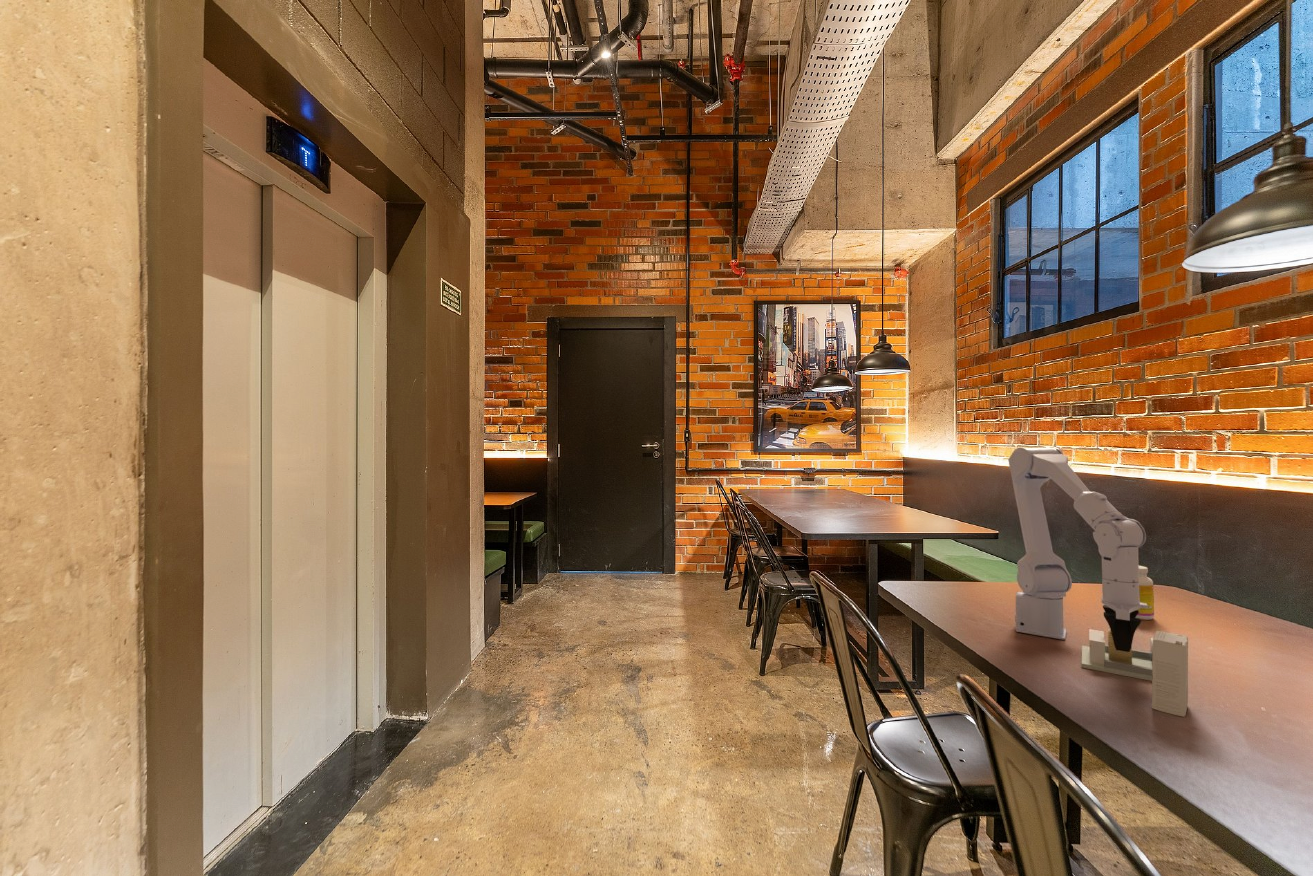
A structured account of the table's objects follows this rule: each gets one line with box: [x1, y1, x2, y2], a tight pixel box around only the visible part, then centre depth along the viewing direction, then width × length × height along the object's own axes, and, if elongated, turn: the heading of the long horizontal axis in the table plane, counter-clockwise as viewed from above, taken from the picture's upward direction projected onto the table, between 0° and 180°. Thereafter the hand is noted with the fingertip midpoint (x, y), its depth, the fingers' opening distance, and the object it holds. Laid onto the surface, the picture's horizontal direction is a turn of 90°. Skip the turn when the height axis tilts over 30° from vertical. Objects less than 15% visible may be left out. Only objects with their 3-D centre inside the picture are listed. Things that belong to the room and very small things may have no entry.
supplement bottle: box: [1135, 565, 1155, 621], centre depth 140 cm, size 7×7×13 cm
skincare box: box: [1151, 630, 1189, 718], centre depth 92 cm, size 6×4×12 cm
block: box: [1107, 628, 1133, 665], centre depth 110 cm, size 4×4×6 cm
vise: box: [1081, 628, 1152, 682], centre depth 110 cm, size 14×12×5 cm
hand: (1121, 646), depth 110 cm, fingers open, 5 cm apart
